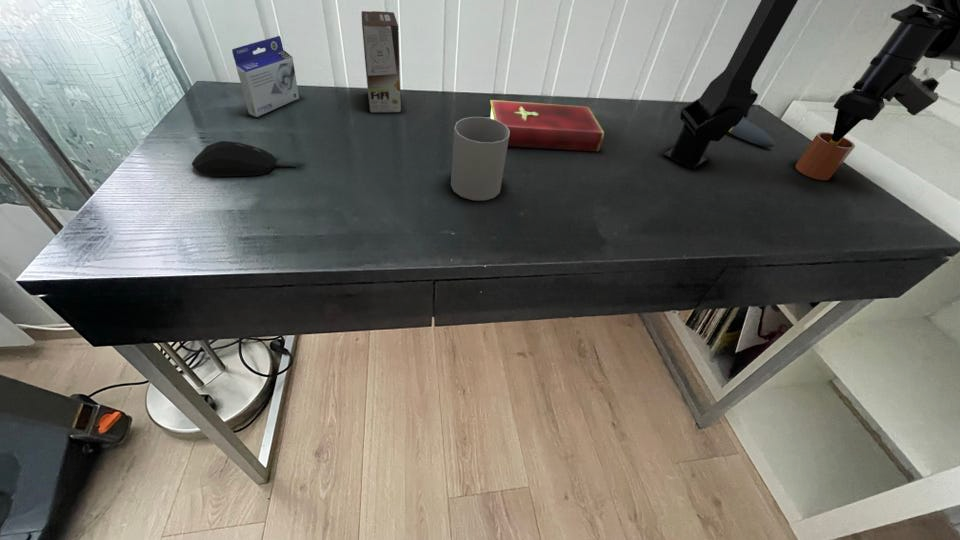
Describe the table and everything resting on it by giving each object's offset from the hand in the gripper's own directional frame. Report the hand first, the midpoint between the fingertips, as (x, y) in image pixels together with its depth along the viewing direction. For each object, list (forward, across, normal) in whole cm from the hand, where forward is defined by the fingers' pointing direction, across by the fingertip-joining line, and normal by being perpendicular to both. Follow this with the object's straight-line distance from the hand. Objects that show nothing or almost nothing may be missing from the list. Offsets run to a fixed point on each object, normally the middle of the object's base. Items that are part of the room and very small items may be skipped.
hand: (835, 139), depth 82 cm
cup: (+7, -62, +36) cm, 72 cm away
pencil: (+2, 0, 0) cm, 2 cm away
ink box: (+7, -76, +79) cm, 110 cm away
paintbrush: (+7, +2, +19) cm, 20 cm away
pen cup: (+7, 0, 0) cm, 7 cm away
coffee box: (+7, -57, +70) cm, 90 cm away
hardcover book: (+7, -38, +42) cm, 57 cm away
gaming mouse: (+7, -89, +61) cm, 108 cm away
